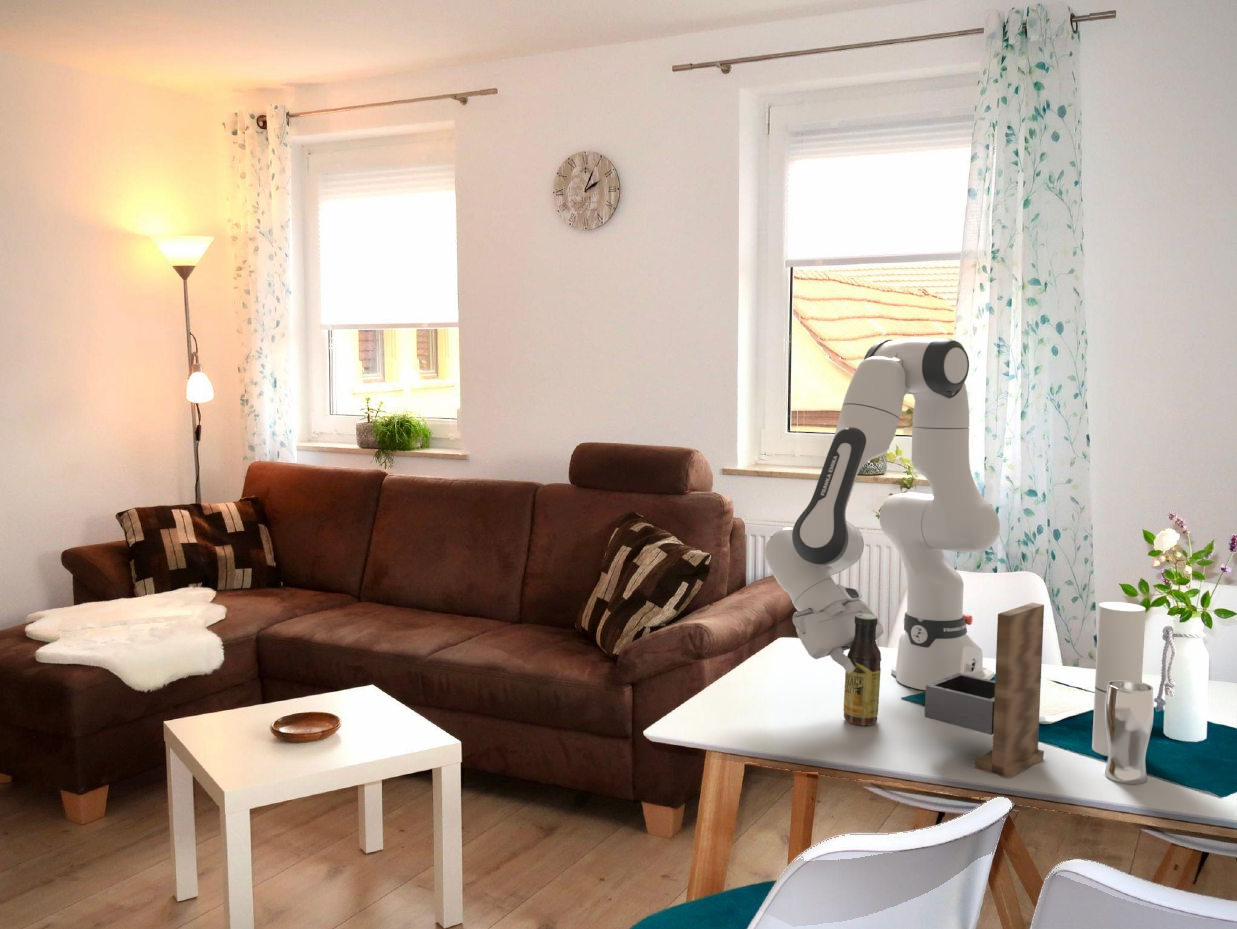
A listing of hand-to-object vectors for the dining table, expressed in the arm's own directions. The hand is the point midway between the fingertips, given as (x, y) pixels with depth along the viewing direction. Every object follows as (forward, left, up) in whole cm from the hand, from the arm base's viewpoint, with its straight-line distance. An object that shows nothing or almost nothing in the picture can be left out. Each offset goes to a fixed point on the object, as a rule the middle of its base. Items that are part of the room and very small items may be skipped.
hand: (865, 667), depth 196 cm
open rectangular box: (0, +22, -4) cm, 22 cm away
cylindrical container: (-19, +37, -11) cm, 43 cm away
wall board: (0, +28, -10) cm, 30 cm away
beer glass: (-8, +43, -11) cm, 45 cm away
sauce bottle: (0, -1, -11) cm, 11 cm away
